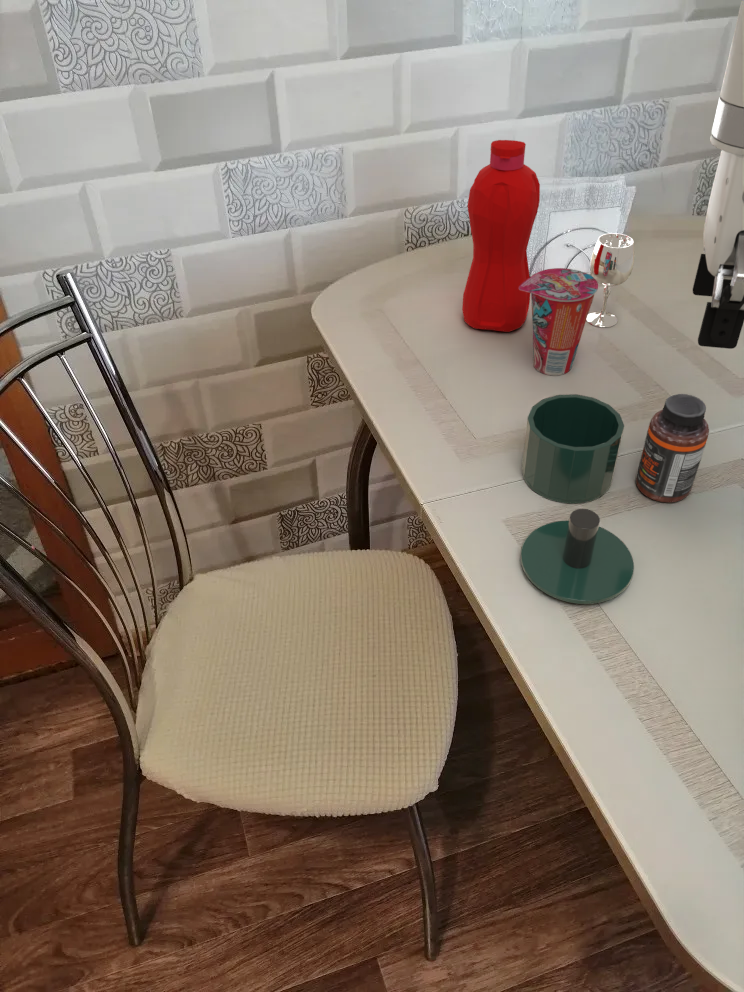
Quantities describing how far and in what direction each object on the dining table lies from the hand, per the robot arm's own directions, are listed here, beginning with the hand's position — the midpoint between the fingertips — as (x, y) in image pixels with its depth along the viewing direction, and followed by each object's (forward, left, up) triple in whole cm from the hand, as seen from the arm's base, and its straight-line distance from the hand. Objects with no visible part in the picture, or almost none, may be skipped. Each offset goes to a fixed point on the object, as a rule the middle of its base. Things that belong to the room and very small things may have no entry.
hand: (712, 319), depth 74 cm
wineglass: (+18, -32, -21) cm, 43 cm away
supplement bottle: (0, 0, -21) cm, 21 cm away
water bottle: (+32, -26, -21) cm, 47 cm away
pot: (+10, +3, -21) cm, 24 cm away
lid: (+4, +16, -21) cm, 26 cm away
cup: (+20, -17, -21) cm, 34 cm away
